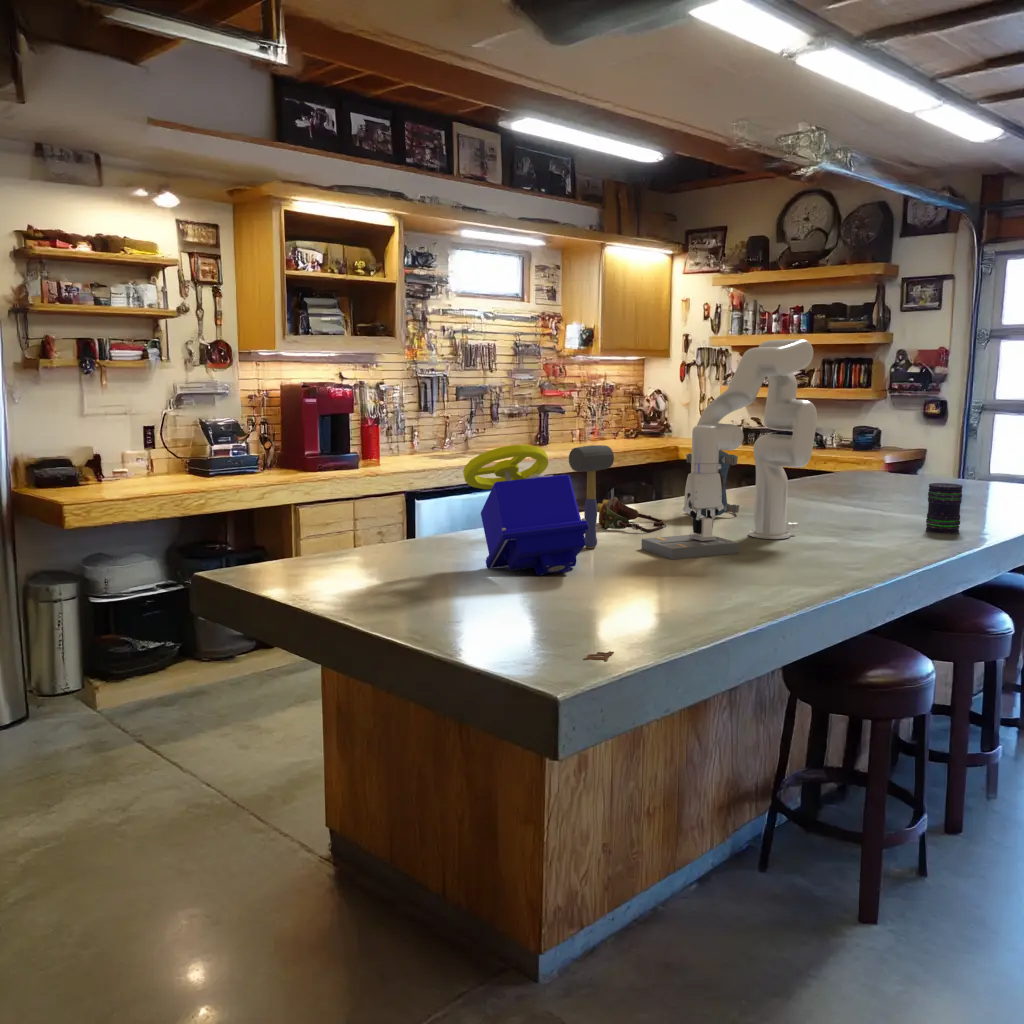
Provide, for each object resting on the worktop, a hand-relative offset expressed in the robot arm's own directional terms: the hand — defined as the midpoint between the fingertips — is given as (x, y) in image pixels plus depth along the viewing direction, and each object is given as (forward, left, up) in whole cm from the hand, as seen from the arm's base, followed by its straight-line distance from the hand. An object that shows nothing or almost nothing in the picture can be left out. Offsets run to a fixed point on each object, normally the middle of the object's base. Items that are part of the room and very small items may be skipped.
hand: (702, 532), depth 257 cm
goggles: (0, -42, -6) cm, 42 cm away
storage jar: (-88, +5, -5) cm, 88 cm away
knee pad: (-40, -52, -5) cm, 66 cm away
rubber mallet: (+28, -15, -5) cm, 33 cm away
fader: (0, 0, -2) cm, 2 cm away
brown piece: (+67, +69, -6) cm, 96 cm away
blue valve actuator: (+58, +5, -5) cm, 59 cm away
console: (+4, 0, -5) cm, 7 cm away
